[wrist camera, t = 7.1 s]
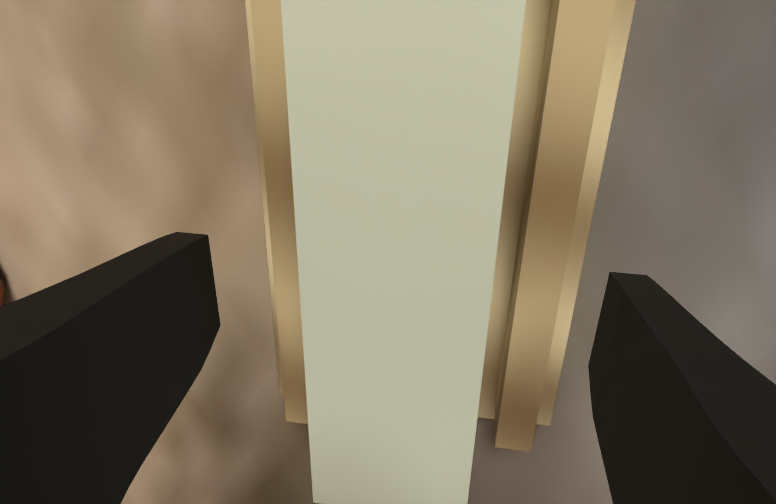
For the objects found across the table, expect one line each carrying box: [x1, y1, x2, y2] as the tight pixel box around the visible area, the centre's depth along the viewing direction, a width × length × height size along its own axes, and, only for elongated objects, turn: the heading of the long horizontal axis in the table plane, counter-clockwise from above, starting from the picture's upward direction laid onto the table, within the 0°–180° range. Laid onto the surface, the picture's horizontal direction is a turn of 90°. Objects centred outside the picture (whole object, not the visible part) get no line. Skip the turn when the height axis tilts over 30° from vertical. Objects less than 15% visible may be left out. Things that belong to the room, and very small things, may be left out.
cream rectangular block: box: [281, 0, 526, 504], centre depth 14 cm, size 12×4×5 cm, turn 179°
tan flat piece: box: [245, 0, 636, 452], centre depth 15 cm, size 15×8×2 cm, turn 179°
